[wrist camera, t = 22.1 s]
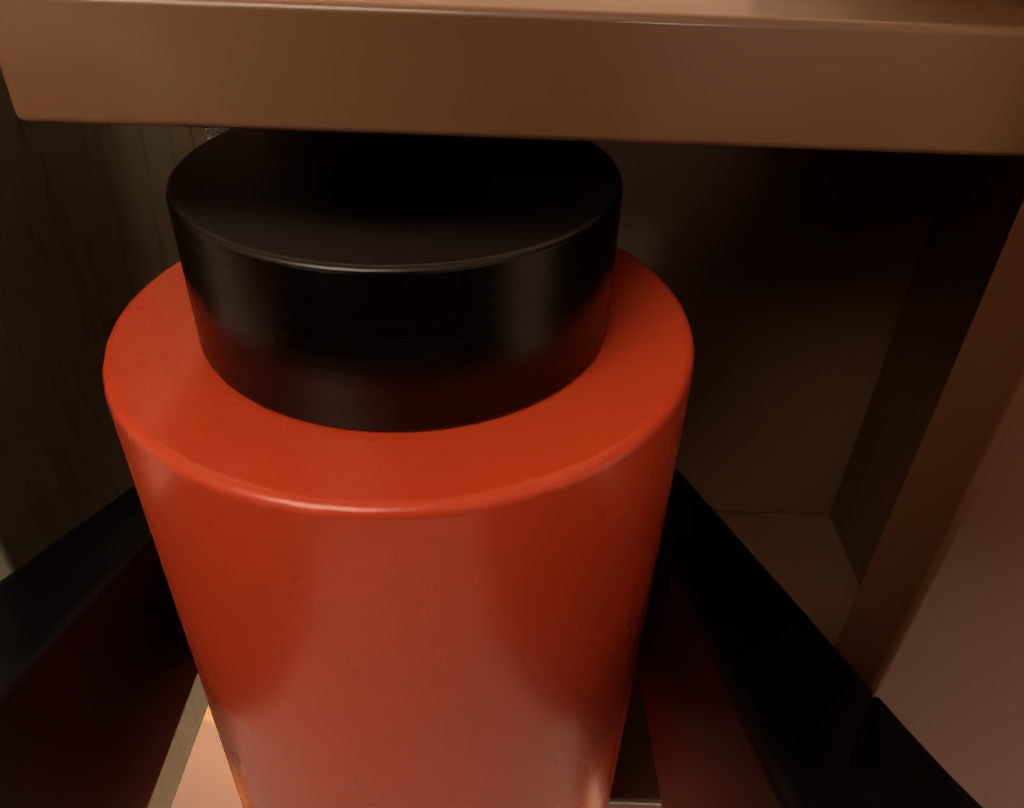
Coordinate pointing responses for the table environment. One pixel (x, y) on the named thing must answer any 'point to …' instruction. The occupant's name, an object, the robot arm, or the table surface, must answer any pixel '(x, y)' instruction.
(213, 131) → the table surface
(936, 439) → the cabinet
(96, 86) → the drawer
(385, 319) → the bottle
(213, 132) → the table surface
